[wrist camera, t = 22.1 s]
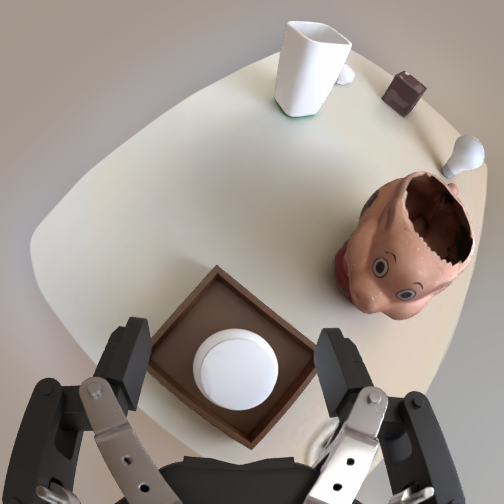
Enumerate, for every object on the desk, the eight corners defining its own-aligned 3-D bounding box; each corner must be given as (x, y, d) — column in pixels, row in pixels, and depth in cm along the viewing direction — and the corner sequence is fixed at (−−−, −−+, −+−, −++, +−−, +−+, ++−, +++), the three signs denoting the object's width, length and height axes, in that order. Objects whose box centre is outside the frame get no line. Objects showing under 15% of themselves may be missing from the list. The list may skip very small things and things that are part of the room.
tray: (142, 356, 25) (133, 358, 22) (217, 272, 29) (216, 264, 26) (248, 439, 23) (251, 450, 20) (319, 354, 27) (330, 355, 24)
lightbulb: (428, 167, 39) (463, 131, 29) (439, 157, 41) (471, 124, 30) (449, 194, 38) (487, 162, 27) (458, 181, 39) (492, 152, 29)
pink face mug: (375, 185, 35) (427, 124, 22) (430, 243, 34) (496, 202, 21) (289, 286, 29) (342, 240, 16) (364, 356, 28) (450, 355, 14)
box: (403, 118, 43) (420, 94, 36) (380, 99, 44) (395, 74, 37) (412, 110, 45) (427, 88, 38) (390, 92, 45) (404, 69, 39)
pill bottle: (274, 367, 26) (307, 382, 15) (225, 401, 24) (229, 438, 14) (238, 319, 27) (248, 306, 17) (188, 353, 25) (167, 361, 15)
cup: (324, 119, 39) (357, 46, 25) (285, 124, 37) (311, 42, 23) (303, 92, 41) (326, 23, 27) (265, 96, 39) (282, 20, 25)
